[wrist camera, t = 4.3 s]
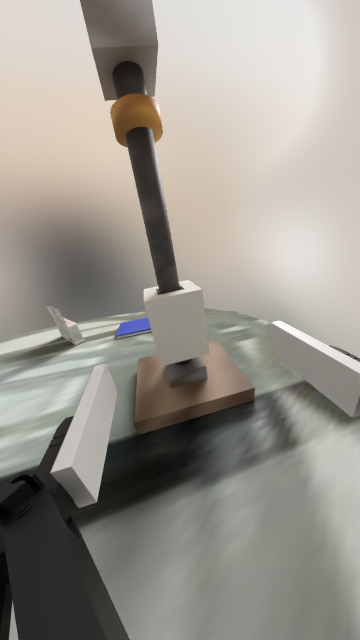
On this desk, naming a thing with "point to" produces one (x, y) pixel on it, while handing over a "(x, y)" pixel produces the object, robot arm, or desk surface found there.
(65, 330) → the ink cartridge box
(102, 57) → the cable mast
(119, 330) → the hard drive
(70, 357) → the desk surface
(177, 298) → the sleeve
